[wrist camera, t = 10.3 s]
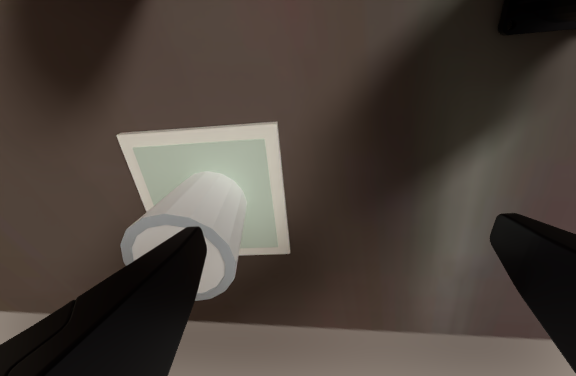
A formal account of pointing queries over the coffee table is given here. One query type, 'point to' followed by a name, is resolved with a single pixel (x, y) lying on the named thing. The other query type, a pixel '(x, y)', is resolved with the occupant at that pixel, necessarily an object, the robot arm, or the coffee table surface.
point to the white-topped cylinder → (196, 212)
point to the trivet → (221, 159)
